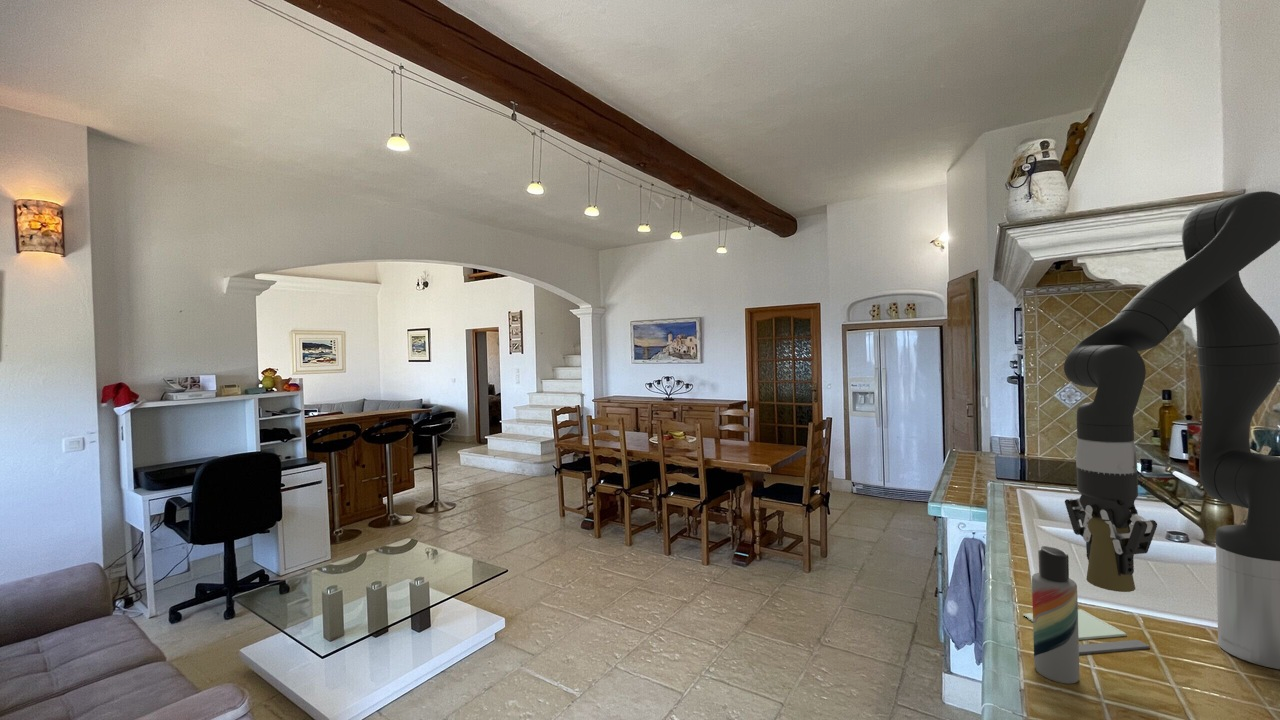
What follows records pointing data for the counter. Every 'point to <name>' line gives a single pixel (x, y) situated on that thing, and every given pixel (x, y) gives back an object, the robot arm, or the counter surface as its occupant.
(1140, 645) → the charcoal line
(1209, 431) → the robot arm
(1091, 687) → the counter surface
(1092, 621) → the mat
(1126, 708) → the counter surface
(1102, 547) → the cork
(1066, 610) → the lotion bottle
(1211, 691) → the counter surface
